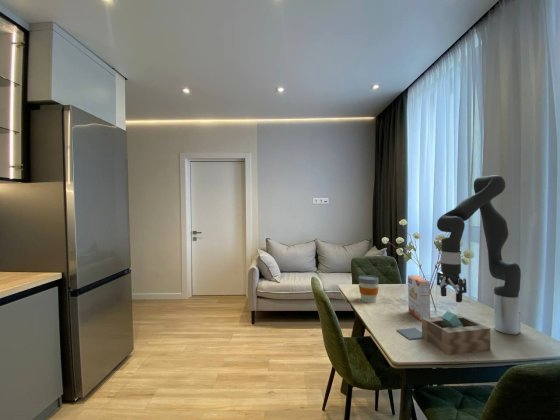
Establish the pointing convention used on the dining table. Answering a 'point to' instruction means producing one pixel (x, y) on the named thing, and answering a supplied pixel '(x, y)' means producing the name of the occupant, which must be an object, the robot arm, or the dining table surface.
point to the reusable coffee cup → (368, 288)
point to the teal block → (451, 320)
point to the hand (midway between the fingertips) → (451, 299)
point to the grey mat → (411, 333)
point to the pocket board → (456, 335)
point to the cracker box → (419, 296)
